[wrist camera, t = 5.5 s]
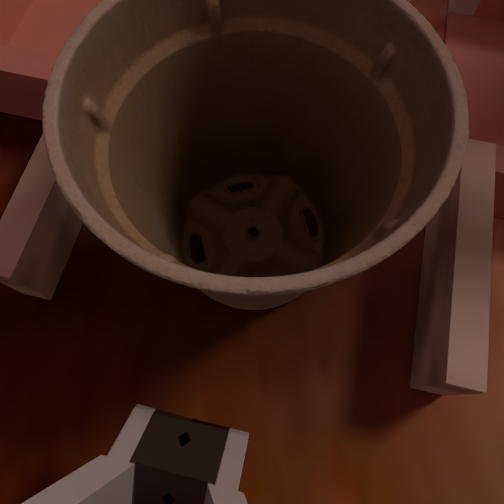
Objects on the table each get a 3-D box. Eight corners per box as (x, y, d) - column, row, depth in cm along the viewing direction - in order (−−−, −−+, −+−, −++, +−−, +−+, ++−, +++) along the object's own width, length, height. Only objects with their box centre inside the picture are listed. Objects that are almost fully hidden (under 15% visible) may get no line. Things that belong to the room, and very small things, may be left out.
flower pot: (94, 217, 18) (-36, 56, 10) (269, 106, 20) (284, -103, 12) (228, 405, 15) (206, 403, 7) (412, 255, 17) (559, 120, 9)
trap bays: (625, 244, 17) (698, 212, 15) (-48, 101, 20) (-98, 50, 17) (607, 27, 22) (661, -30, 19) (55, -71, 24) (30, -135, 21)
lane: (442, 395, 15) (486, 392, 12) (22, 293, 16) (-25, 269, 14) (458, 184, 18) (496, 143, 16) (103, 110, 19) (78, 60, 17)
